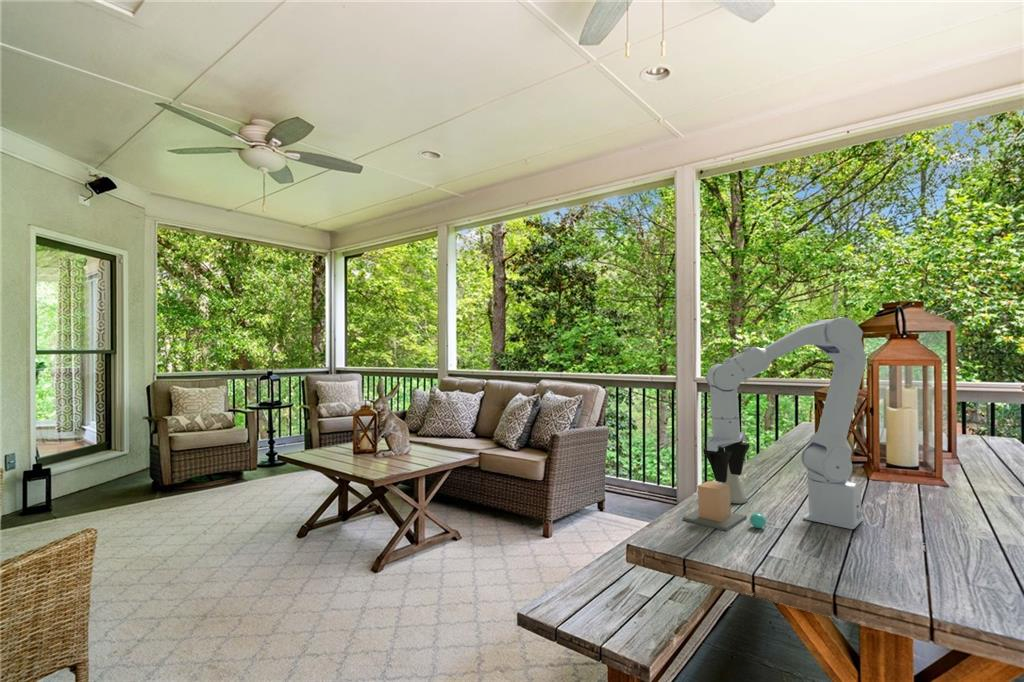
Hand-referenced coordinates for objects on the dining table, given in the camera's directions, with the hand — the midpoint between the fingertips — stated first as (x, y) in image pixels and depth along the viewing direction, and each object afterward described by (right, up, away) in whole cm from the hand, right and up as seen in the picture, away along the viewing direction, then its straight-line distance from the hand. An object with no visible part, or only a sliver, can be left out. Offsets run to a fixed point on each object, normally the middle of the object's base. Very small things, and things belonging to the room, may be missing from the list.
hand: (728, 477), depth 108 cm
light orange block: (-3, -9, 0) cm, 9 cm away
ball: (+4, -9, -6) cm, 11 cm away
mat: (-3, -9, 0) cm, 10 cm away
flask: (+7, -10, +13) cm, 18 cm away
